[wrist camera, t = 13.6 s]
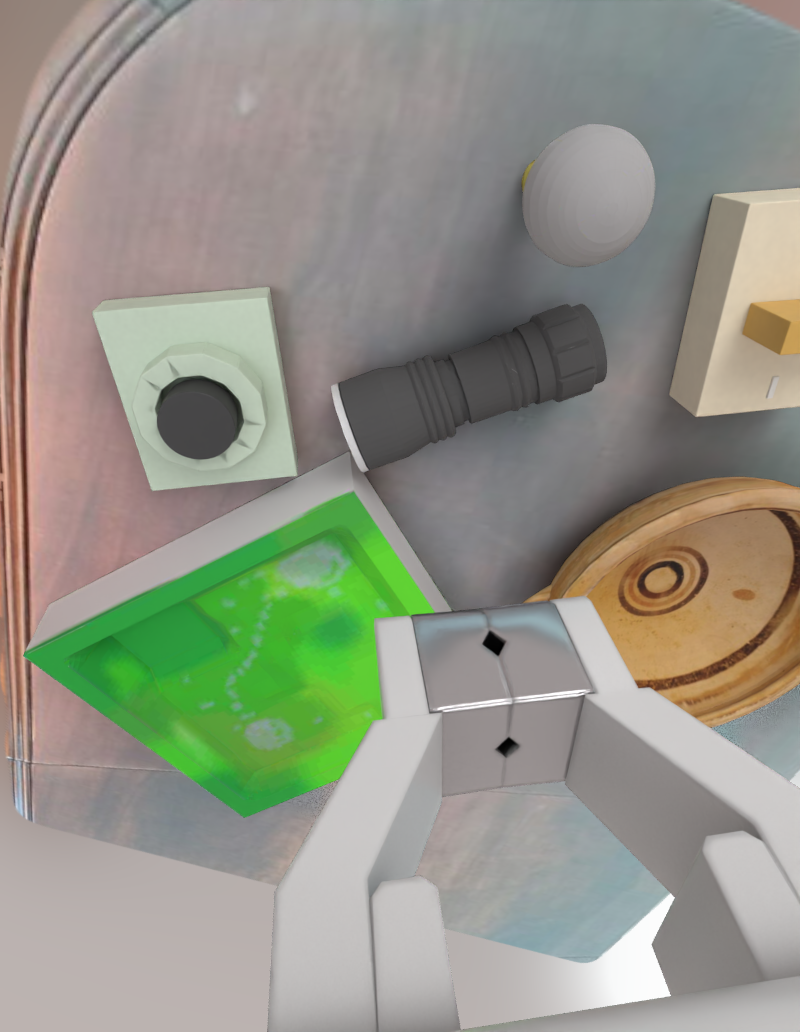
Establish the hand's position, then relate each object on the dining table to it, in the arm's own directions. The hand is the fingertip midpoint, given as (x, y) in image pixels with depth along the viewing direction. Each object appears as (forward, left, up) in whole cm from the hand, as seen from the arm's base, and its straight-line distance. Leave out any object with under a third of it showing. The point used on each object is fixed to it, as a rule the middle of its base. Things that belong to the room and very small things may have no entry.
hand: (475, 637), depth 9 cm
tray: (+29, -8, -30) cm, 43 cm away
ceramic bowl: (+26, +22, -30) cm, 45 cm away
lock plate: (+5, +25, -30) cm, 39 cm away
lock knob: (+5, +25, -26) cm, 36 cm away
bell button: (+8, -9, -26) cm, 29 cm away
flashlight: (+8, +6, -30) cm, 32 cm away
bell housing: (+8, -9, -30) cm, 32 cm away
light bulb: (-2, +10, -30) cm, 32 cm away
